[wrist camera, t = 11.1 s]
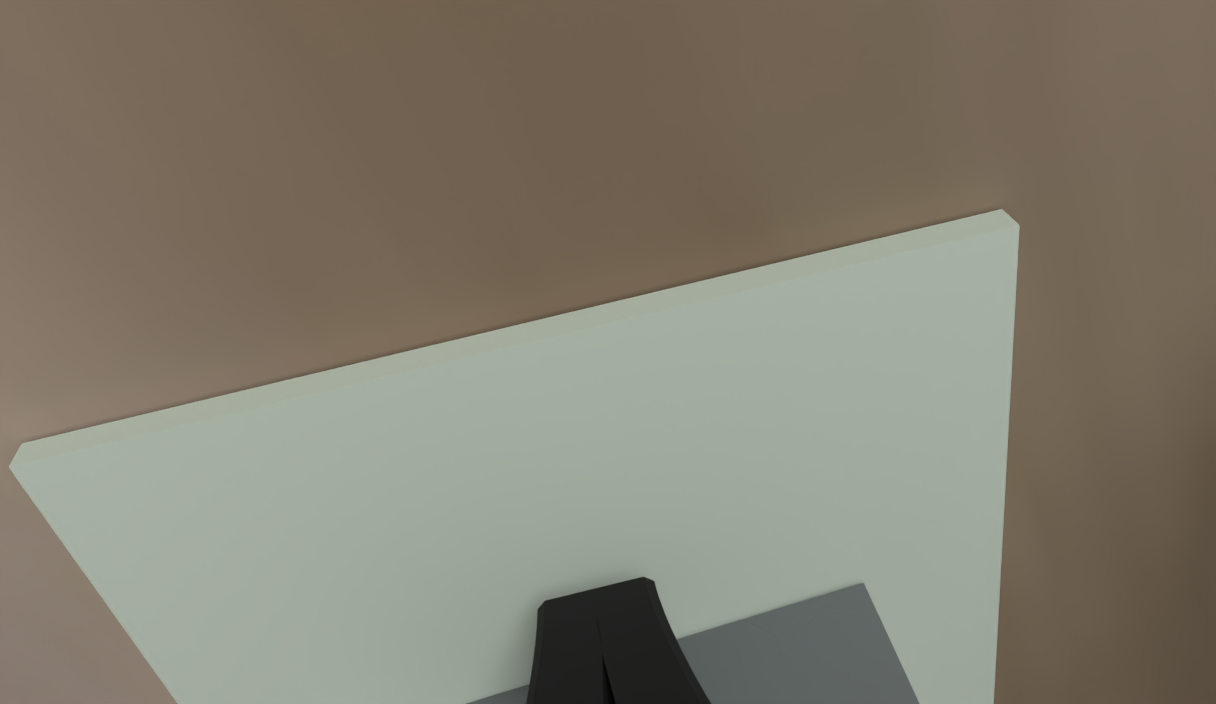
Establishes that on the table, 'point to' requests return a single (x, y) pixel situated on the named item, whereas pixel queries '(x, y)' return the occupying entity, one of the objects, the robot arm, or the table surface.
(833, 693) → the grey toy block
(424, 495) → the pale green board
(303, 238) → the table surface
